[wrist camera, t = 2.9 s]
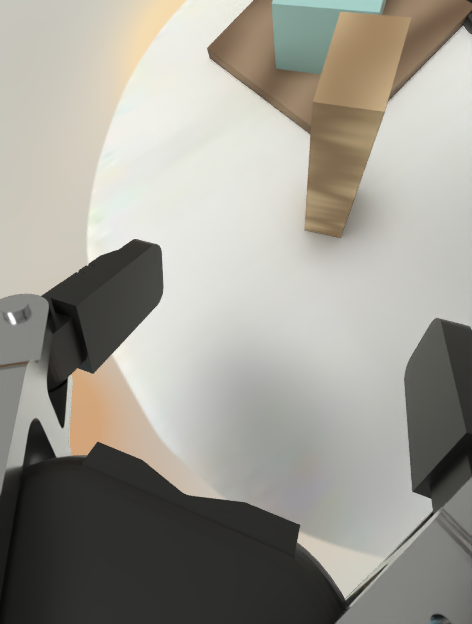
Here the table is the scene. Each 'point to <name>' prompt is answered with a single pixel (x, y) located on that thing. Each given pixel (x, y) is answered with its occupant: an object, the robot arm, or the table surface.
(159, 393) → the table surface
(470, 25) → the phone
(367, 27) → the tall wooden block
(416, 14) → the base plate
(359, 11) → the teal open box
